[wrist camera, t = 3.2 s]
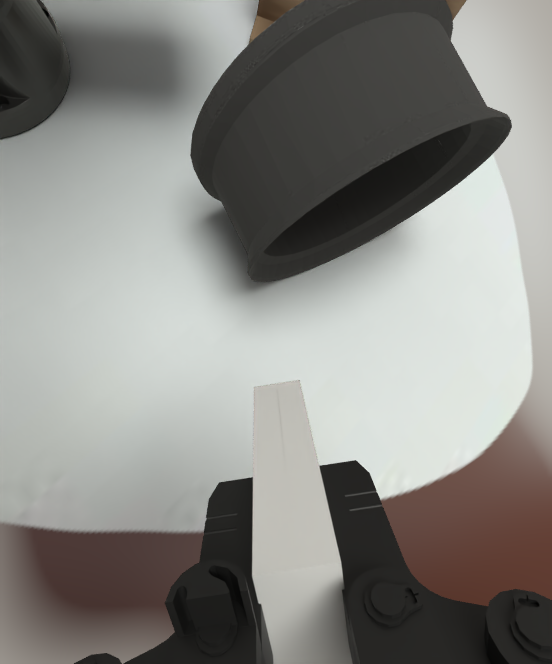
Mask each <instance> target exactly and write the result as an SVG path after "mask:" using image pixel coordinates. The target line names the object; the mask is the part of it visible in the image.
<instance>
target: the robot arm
mask: <svg viewBox="0 0 552 664" xmlns="http://www.w3.org/2000/svg"><path fill="white" fill-rule="evenodd" d="M69 77H70V64H69V58H68V54H67V50H66V48H65V45H64V42H63V39H62V37H61V34H60V31H59V29H58V27H57V25H56V23H55V21H54V19H53V17H52V16H51V14H50V12H49V11H48V9H47V8H46V7H45V5H44V4H43V3H42V2H41V1H40V0H0V138H4V137H8V136H12V135H16V134H18V133H21V132H24V131H26V130H28V129H30V128H32V127H34V126H36V125H37V124H39V123H40V122H42V121H43V120H45V119H46V118H47V117H48V116H49V115H50V114H51V113H52V112H53V111H54V110H55V109H56V108H57V106H58V105H59V104H60V102H61V100H62V99H63V97H64V95H65V93H66V90H67V87H68V83H69ZM206 518H207V520H206V522H205V529H204V536H203V542H202V549H201V555H200V562H199V563H198V564H195V565H194V566H193V567H191V568H190V569H188V570H187V571H185V572H184V573H182V575H181V576H180V577H179V578H178V580H177V581H176V582H175V583H174V585H173V586H172V587H171V589H170V592H169V594H168V597H167V599H166V602H165V604H166V607H167V610H168V613H169V616H170V619H171V621H172V624H173V627H174V630H175V633H174V634H173V635H172V636H170V637H169V639H167V640H166V641H164V642H163V643H161V644H160V645H158V646H157V647H155V648H153V649H151V650H149V651H147V652H145V653H143V654H141V655H139V656H137V657H135V658H133V659H131V660H130V661H128V662H126V663H124V664H552V600H550V599H548V598H546V597H544V596H541V595H539V594H537V593H535V592H529V591H524V590H518V589H514V590H509V591H503V592H500V593H499V594H498V595H496V597H494V598H493V599H492V600H490V602H489V606H482V605H477V604H471V603H465V602H460V601H455V600H451V599H447V598H444V597H441V596H439V595H437V594H435V593H433V592H431V591H430V590H428V589H427V588H426V587H424V586H423V585H422V584H420V583H419V582H418V581H417V580H416V579H415V577H414V576H413V575H412V574H411V572H410V571H409V569H408V567H407V565H406V563H405V561H404V558H403V556H402V554H401V551H400V548H399V546H398V543H397V541H396V538H395V536H394V533H393V531H392V529H391V526H390V523H389V521H388V519H387V516H386V513H385V511H384V508H383V507H382V503H381V501H380V498H379V496H378V493H377V492H376V488H375V486H374V483H373V481H372V478H371V476H370V473H369V472H368V471H367V470H366V469H365V468H363V467H362V466H361V465H360V464H359V463H358V462H357V461H356V460H355V461H348V462H342V463H335V464H329V465H322V466H319V463H318V459H317V454H316V450H315V446H314V441H313V437H312V432H311V428H310V424H309V419H308V415H307V411H306V406H305V402H304V397H303V393H302V389H301V384H300V380H296V381H290V382H283V383H277V384H270V385H264V386H257V387H254V428H253V477H252V478H246V479H239V480H232V481H226V482H219V484H218V485H217V487H216V489H215V490H214V492H213V493H212V495H211V497H210V498H209V502H208V509H207V515H206ZM74 664H122V663H121V662H120V660H119V659H118V658H116V657H114V656H112V655H110V654H107V653H104V654H95V655H90V656H88V657H86V658H84V659H82V660H80V661H78V662H76V663H74Z"/></svg>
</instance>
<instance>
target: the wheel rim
mask: <svg viewBox="0 0 552 664" xmlns="http://www.w3.org/2000/svg"><path fill="white" fill-rule="evenodd" d="M452 29H453V22H452V14H451V10H450V8H449V6H448V4H447V2H446V0H304V1H303V2H301V3H300V4H298V5H296V6H295V7H293V8H292V9H290V10H289V11H287V12H286V13H284V14H283V15H282V16H281V17H280V18H278V19H277V20H276V21H275V22H274V23H272V24H271V25H270V26H269V27H268V28H266V29H265V30H264V31H263V32H262V33H260V34H259V35H258V36H257V37H256V38H255V39H254V40H253V41H252V42H251V43H250V44H249V45H248V46H247V47H246V48H245V49H244V50H243V51H242V52H241V53H240V54H239V55H238V56H237V58H236V59H235V60H234V61H233V62H232V63H231V65H230V66H229V67H228V68H227V69H226V71H225V72H224V73H223V75H222V76H221V77H220V79H219V80H218V82H217V83H216V85H215V86H214V87H213V89H212V91H211V92H210V94H209V96H208V98H207V99H206V101H205V103H204V105H203V107H202V109H201V111H200V113H199V115H198V118H197V121H196V124H195V127H194V130H193V133H192V144H191V155H190V156H191V159H192V163H193V167H194V170H195V172H196V174H197V176H198V178H199V180H200V182H201V184H202V185H203V187H204V189H205V190H206V191H207V192H208V194H209V195H211V196H212V197H214V198H215V199H217V200H220V201H221V202H222V204H223V206H224V208H225V210H226V212H227V214H228V216H229V218H230V220H231V222H232V224H233V226H234V228H235V230H236V232H237V234H238V236H239V238H240V240H241V242H242V244H243V246H244V248H245V250H246V252H247V254H248V274H249V276H250V278H251V279H252V280H254V281H257V282H268V281H275V280H279V279H283V278H287V277H290V276H293V275H296V274H299V273H302V272H304V271H307V270H310V269H312V268H314V267H317V266H319V265H322V264H324V263H326V262H328V261H330V260H333V259H335V258H337V257H339V256H341V255H343V254H345V253H347V252H349V251H351V250H353V249H355V248H357V247H359V246H361V245H363V244H365V243H366V242H368V241H370V240H372V239H374V238H375V237H377V236H379V235H381V234H383V233H384V232H386V231H388V230H389V229H391V228H393V227H394V226H396V225H398V224H399V223H401V222H403V221H404V220H406V219H408V218H409V217H411V216H412V215H414V214H415V213H417V212H419V211H420V210H422V209H423V208H425V207H426V206H428V205H429V204H431V203H432V202H434V201H435V200H436V199H438V198H439V197H441V196H442V195H443V194H445V193H446V192H448V191H449V190H450V189H452V188H453V187H454V186H456V185H457V184H458V183H460V182H461V181H462V180H463V179H465V178H466V177H467V176H468V175H470V174H471V173H472V172H473V171H474V170H476V169H477V168H478V167H479V166H480V165H481V164H482V163H484V162H485V161H486V160H487V159H488V158H489V157H490V156H491V155H492V154H493V153H494V152H495V151H496V150H497V149H498V147H500V145H501V144H502V143H503V142H504V140H505V139H506V137H507V136H508V135H509V132H510V130H511V128H512V125H511V120H510V118H509V117H508V115H507V114H505V113H502V112H500V111H497V110H494V109H492V108H490V107H487V106H486V104H485V102H484V100H483V98H482V97H481V95H480V93H479V91H478V89H477V88H476V86H475V84H474V82H473V80H472V79H471V77H470V75H469V73H468V71H467V70H466V68H465V66H464V64H463V62H462V60H461V59H460V57H459V55H458V53H457V51H456V50H455V48H454V46H453V44H452V43H451V35H452Z"/></svg>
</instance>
